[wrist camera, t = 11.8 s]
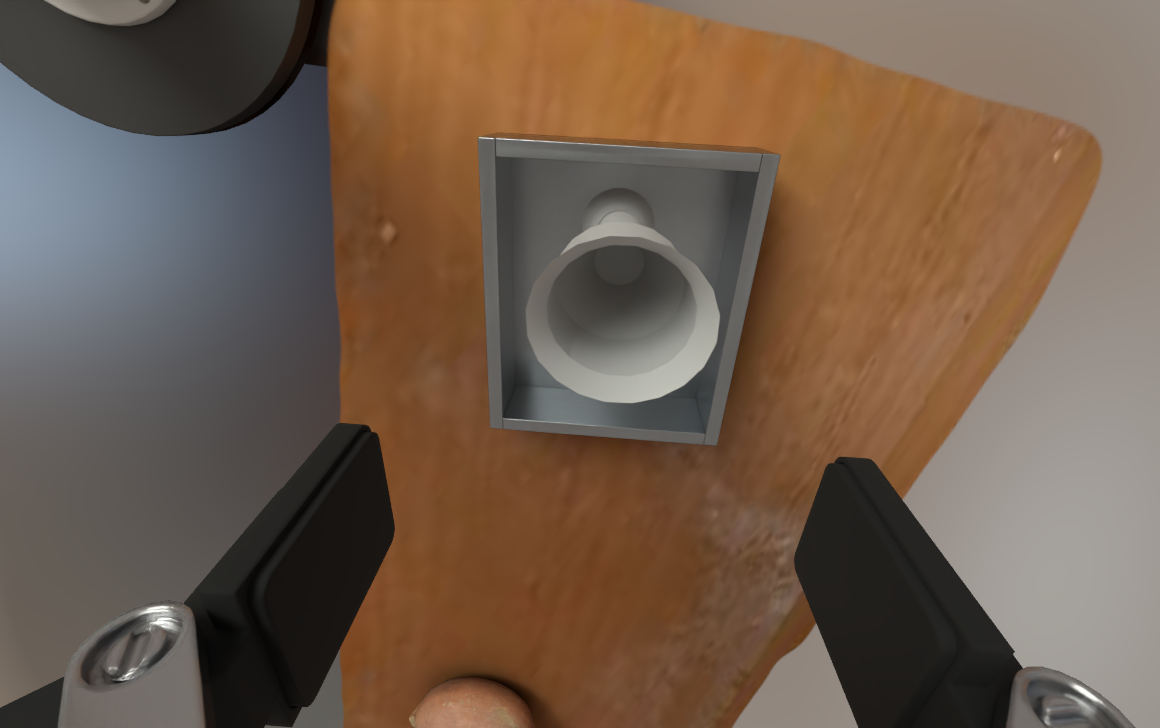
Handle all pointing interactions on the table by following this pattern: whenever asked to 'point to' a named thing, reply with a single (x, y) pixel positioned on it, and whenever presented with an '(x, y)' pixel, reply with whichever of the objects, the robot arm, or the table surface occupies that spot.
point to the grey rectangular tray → (554, 217)
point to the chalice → (622, 307)
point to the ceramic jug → (471, 706)
